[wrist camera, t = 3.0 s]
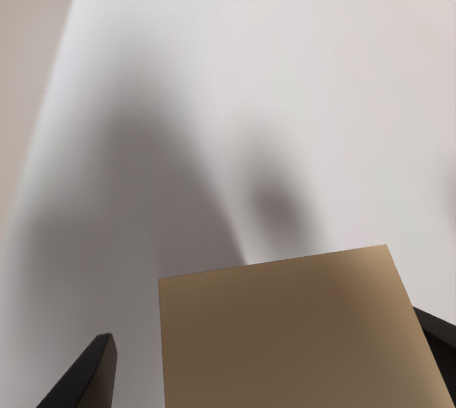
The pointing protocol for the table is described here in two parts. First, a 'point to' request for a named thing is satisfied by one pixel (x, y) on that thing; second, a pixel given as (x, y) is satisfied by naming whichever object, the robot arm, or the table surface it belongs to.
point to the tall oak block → (297, 336)
